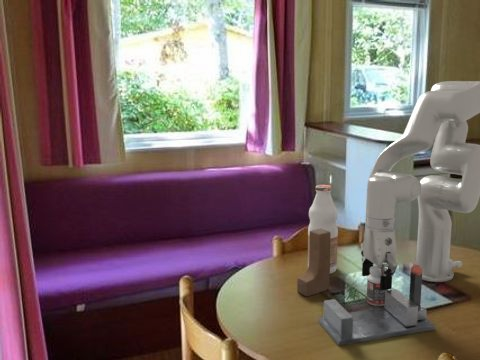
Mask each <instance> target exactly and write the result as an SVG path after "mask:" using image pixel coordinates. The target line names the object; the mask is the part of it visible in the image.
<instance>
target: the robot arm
mask: <svg viewBox="0 0 480 360" xmlns="http://www.w3.org/2000/svg"><path fill="white" fill-rule="evenodd" d="M478 114H480V80H475V81H474V80H473V81H472V80H471V81H468V80H467V81H466V80H465V81H464V80H455V81H454V80H453V81H452V80H450V81H441V82H437V83H435V84H433V85H432V87H431V89H430V91H429V90H428V91H425V92H423V93H422V94H420V96H419V97H418V98H417V101H416V102H415V105H414V107H413V109H412V112H411V114H410V116H409V120H408V122H407V124H406V126H405V129H404V131H403V133H402V135H401V136H400V137H399V138H397V139H396V140H395V141H394V142H391V144H389V145H388V146H386V148H384V150H383V151H382V152H381V153H380V154H379V155H378V157H376V160H375V162H374V165H373V167H372V169H371V172H370V174H369V176H368V180H367V185H366V186H367V187H366V204H365V219H364V220H365V221H364V224H365V225H364V227H365V229H364V233H363V242H362V243H361V242H360V254H361V261H362V267H361V276H362V277H368V275H370V267H372V266H379V267H380V269H381V272H382V275H381V277H380V289H381V290H392V287H393V276H394V275H395V273H396V270H397V268H398V263H397V261H396V259H397V241H396V240H397V239H396V232H395V221H396V220H395V219H396V204H397V203H411V202H414V200H416V199H417V203H418V204H417V205H418V225H417V226H418V228H417V239H416V240H417V243H416V257H415V258H416V260H415V265H420V266H421V267H422V270H423V271H422V281H426V282H432V283H433V282H434V283H445V282H449V281H451V280H452V279H453V278H454V271H453V269H455V268H461V267H463V262H462V261H461V260H455V261H454V260H453V259H451V258H450V252H451V250H450V249H451V241H452V239H451V238H452V225H453V224H452V219H451V218H452V217H451V215H450V213H449V211H451V212H456V213H463V214H469V213H471V212H473V211H475V209H476V208H477V206H478V203H479V200H480V144H477V143H467V142H466V140H467V135H468V131H469V125H468V122H467V121H468V120H470V119H472V118H474V116H475V117H476V116H477V115H478ZM431 148H432V150H431V153H430V160H429V161H430V162H429V163H430V167H431V169H433V170H435V171H437V172H441V173H445V174H451V175H459V176H462V177H461V179H459V178H454V177H448V176H443V175H426V176H424V177H422V178H420V180H419V179H418V178H417V177H416V176H414V175H411V174H407V173H401V172H396V171H392V169H393V168H394V167H395V166H396V164H398V163H399V162H400V161H401V160H403V159H405V158H408V157H410V156H411V157H412V156H414V155H418V154H420V153H423V152H427V151H428V150H430V149H431ZM384 267H385V268H387V270H386V271H385V268H384ZM410 273H411V270H410Z"/></svg>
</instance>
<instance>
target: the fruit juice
mask: <svg viewBox="0 0 480 360" xmlns="http://www.w3.org/2000/svg"><path fill="white" fill-rule="evenodd" d="M315 191H316V194H315V197H314V199H313V201H312V204H311V206H310V207H309V208H308V209H309V210H308V218H309V224H308V227H307V229H308V230H307V267H308V266H309V244H310V231H312V230H316V229H320V228H321V229H324V230H326V231H329V232H330V233H331V238H330V275H331V274H333V273H335V272H336V271H337V269H338V238H339V230H338V225H337V219H338V214H339V213H338V209H337V207H336V205H335V203H334V200H333V197H332V194H331V192H332V185H330V184H329V185H328V184H318V185H316V186H315Z"/></svg>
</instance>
